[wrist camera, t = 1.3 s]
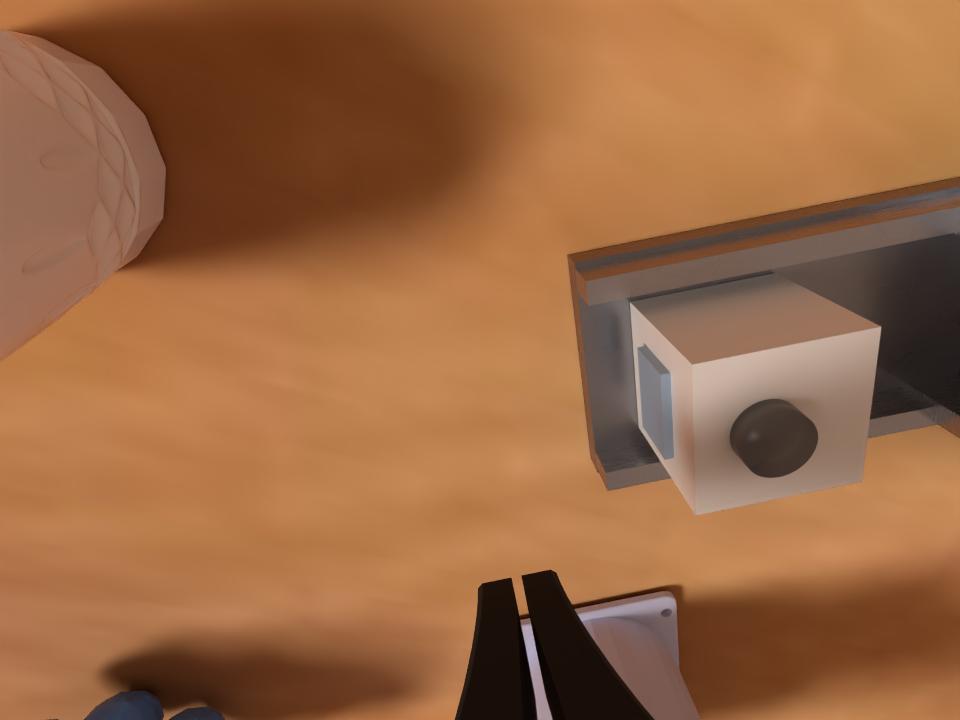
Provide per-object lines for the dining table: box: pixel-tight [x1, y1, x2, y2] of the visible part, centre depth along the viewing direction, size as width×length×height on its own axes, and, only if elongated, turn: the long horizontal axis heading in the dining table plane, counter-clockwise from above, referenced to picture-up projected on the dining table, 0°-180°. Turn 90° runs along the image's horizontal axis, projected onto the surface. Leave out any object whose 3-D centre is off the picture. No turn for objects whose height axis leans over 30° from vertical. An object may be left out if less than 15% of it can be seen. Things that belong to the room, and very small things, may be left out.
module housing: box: [567, 177, 960, 491], centre depth 19 cm, size 13×19×6 cm
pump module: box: [630, 273, 881, 515], centre depth 18 cm, size 5×5×6 cm
